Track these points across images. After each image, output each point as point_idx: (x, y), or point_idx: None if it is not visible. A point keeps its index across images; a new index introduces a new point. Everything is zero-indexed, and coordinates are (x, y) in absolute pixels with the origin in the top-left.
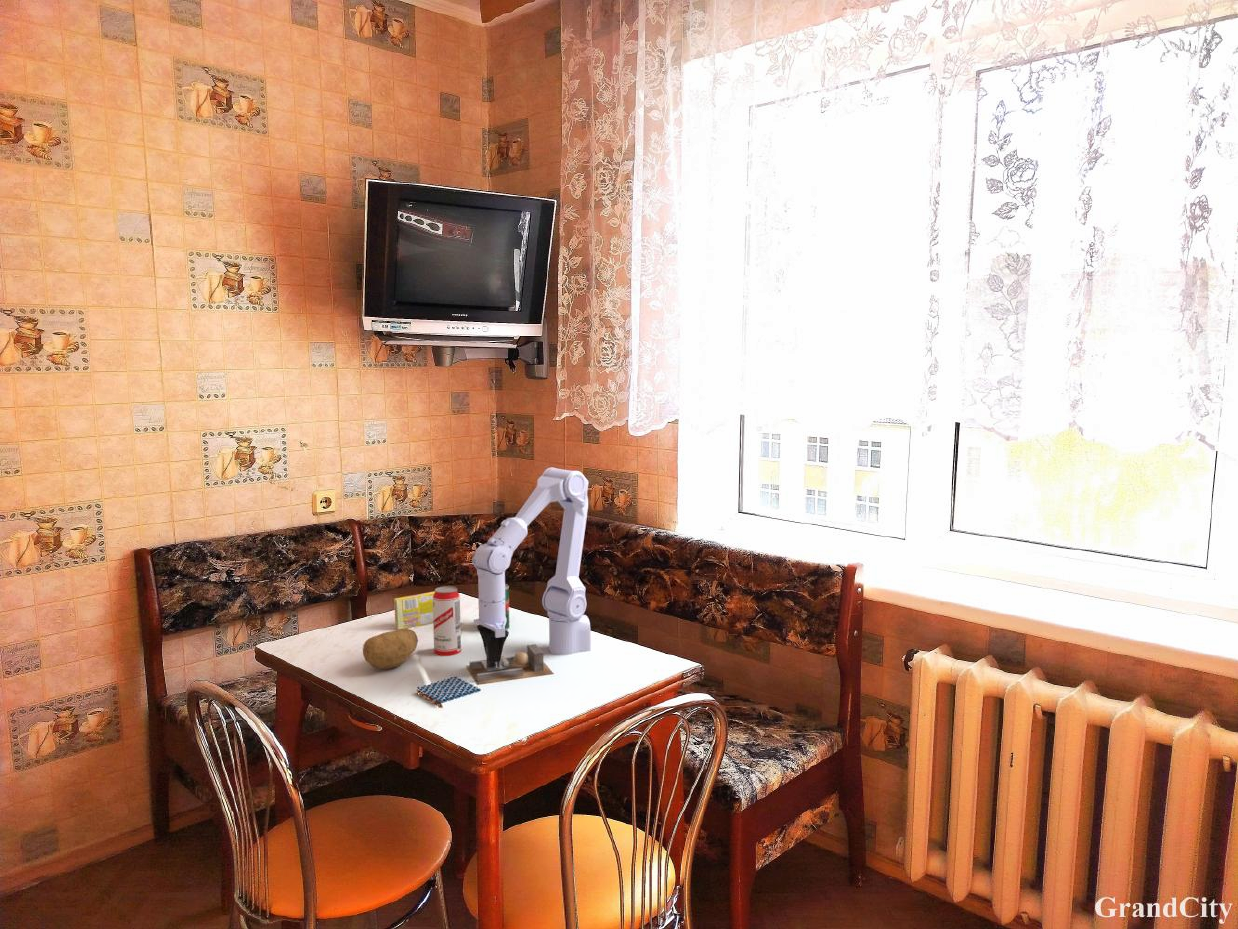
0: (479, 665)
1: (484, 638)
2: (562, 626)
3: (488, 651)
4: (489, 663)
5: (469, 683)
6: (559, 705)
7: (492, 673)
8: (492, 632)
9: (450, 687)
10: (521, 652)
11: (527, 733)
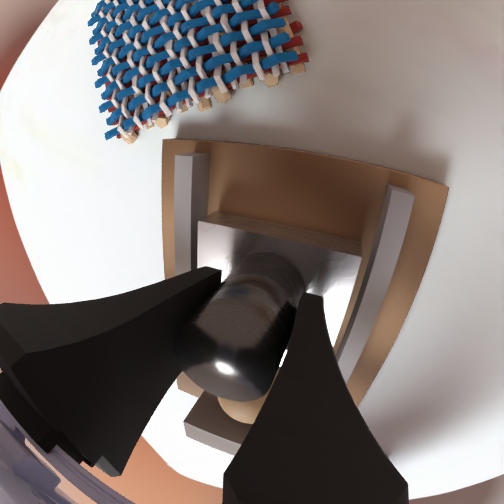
0: (376, 242)
1: (61, 330)
2: None
3: (145, 287)
4: (239, 265)
5: (176, 107)
6: (61, 290)
7: (174, 232)
8: (5, 387)
9: (161, 24)
10: (239, 418)
11: (6, 186)
